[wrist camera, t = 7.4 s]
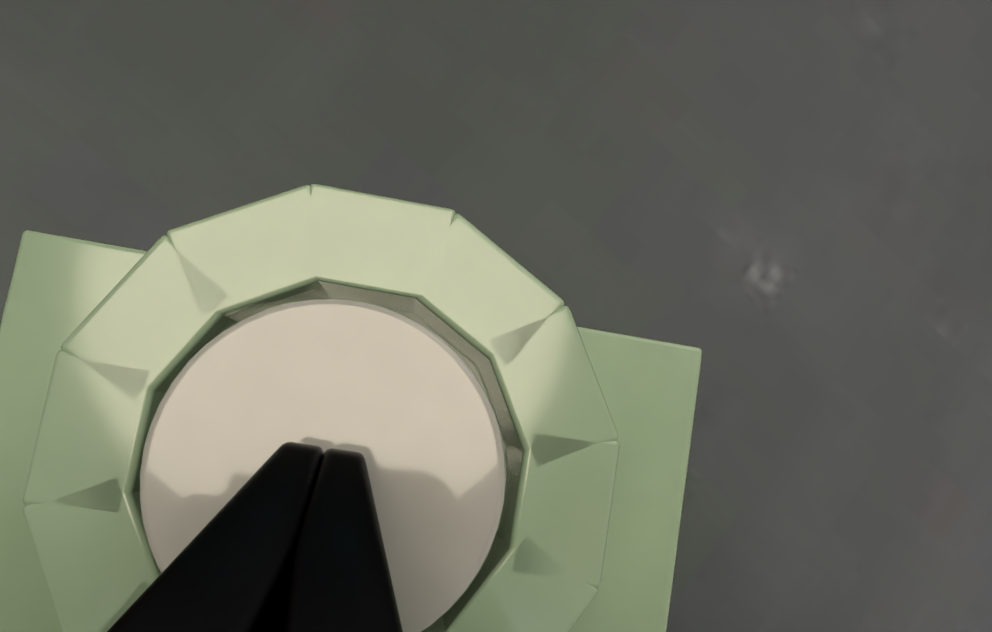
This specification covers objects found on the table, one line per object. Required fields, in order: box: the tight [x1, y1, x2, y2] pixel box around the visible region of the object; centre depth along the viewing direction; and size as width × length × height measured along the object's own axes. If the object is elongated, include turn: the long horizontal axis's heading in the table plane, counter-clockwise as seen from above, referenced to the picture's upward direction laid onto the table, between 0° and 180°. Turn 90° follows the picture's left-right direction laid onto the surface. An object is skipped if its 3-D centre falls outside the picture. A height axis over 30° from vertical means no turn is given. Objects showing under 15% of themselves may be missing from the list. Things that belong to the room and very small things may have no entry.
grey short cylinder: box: [140, 298, 506, 632], centre depth 10 cm, size 4×4×2 cm
